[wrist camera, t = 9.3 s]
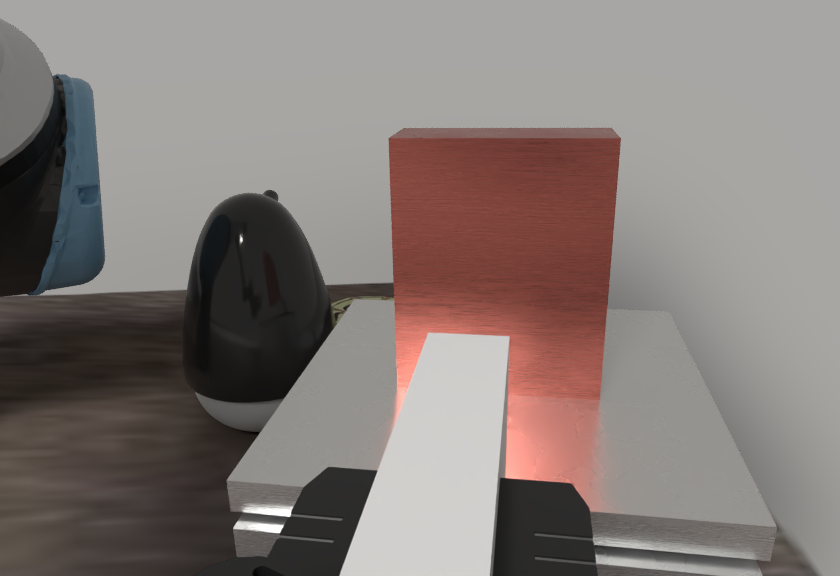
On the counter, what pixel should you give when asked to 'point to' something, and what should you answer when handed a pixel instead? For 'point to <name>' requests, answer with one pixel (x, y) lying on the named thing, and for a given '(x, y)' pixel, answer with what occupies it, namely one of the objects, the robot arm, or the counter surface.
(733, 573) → the grey storage bin
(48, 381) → the counter surface
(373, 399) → the lid
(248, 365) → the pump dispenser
